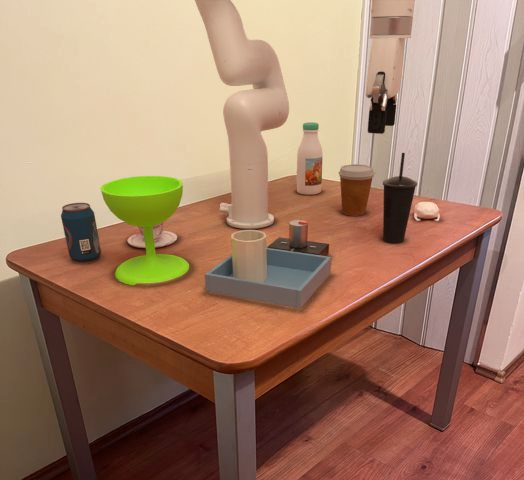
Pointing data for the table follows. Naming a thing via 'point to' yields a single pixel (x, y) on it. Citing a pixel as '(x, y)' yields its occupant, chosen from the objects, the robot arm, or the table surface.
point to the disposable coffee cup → (355, 188)
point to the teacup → (159, 236)
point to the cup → (249, 255)
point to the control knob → (298, 233)
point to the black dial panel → (311, 248)
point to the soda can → (81, 233)
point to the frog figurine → (426, 211)
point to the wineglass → (146, 224)
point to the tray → (274, 278)
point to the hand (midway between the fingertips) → (381, 129)
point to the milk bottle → (309, 161)
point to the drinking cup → (397, 205)
